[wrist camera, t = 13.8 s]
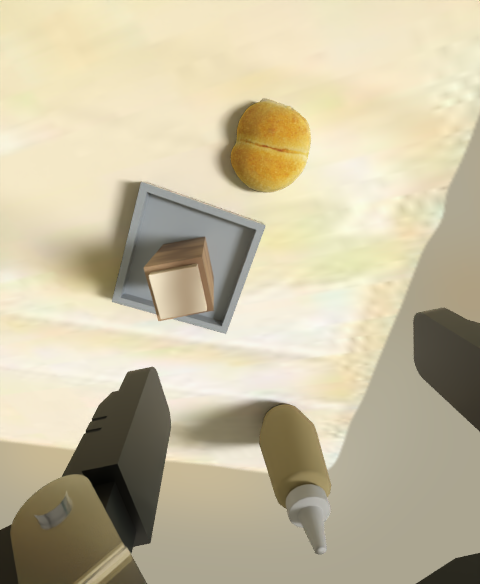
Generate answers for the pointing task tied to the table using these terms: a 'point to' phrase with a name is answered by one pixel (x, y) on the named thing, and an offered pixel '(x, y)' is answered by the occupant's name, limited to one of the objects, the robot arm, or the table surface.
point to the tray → (178, 227)
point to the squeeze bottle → (297, 470)
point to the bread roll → (270, 146)
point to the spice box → (181, 279)
